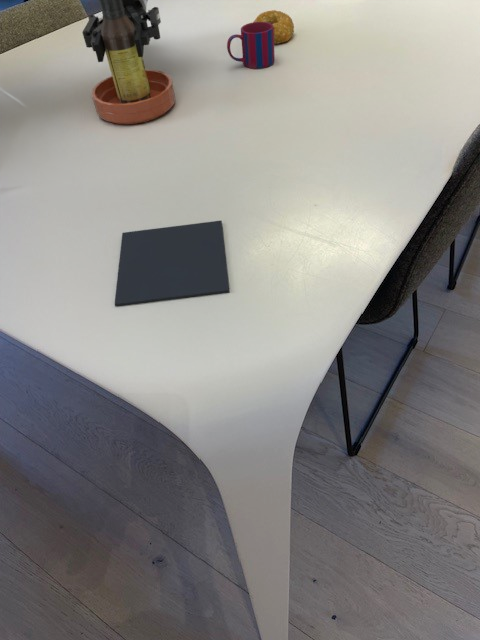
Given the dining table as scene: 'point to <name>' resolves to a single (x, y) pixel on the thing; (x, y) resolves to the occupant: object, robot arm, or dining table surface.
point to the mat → (171, 263)
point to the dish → (135, 111)
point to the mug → (255, 45)
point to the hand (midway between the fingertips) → (118, 50)
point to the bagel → (278, 24)
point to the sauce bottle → (123, 53)
